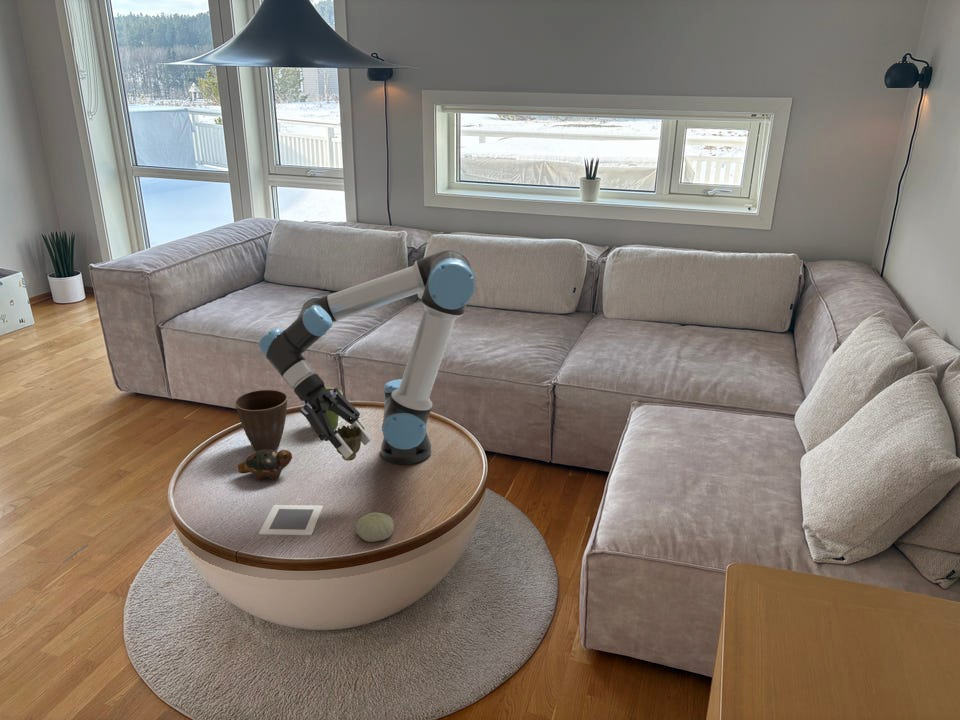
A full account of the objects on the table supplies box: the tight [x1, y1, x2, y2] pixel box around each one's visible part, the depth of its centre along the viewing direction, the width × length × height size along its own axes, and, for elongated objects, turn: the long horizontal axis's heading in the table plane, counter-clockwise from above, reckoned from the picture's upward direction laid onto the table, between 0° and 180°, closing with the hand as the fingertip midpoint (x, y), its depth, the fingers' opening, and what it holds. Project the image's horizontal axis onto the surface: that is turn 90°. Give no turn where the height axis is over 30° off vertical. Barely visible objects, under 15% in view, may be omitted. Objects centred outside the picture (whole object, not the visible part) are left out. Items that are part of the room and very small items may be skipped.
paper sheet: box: [258, 504, 324, 536], centre depth 181 cm, size 13×13×1 cm
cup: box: [333, 425, 362, 462], centre depth 187 cm, size 8×7×8 cm
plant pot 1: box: [234, 389, 288, 452], centre depth 215 cm, size 15×15×16 cm
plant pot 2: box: [312, 387, 344, 430], centre depth 230 cm, size 12×12×11 cm
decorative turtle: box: [237, 449, 293, 482], centre depth 201 cm, size 10×15×8 cm, turn 103°
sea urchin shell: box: [355, 511, 395, 543], centre depth 176 cm, size 9×8×8 cm
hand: (359, 448), depth 186 cm, fingers closed on cup, 7 cm apart
